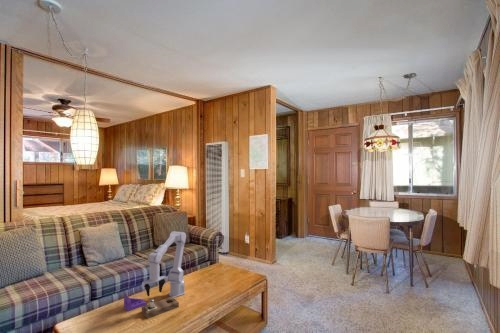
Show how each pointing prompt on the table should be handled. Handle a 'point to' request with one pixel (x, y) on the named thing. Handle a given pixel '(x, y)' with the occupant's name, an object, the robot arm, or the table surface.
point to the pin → (151, 303)
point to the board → (160, 307)
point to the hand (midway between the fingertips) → (154, 293)
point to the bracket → (133, 303)
